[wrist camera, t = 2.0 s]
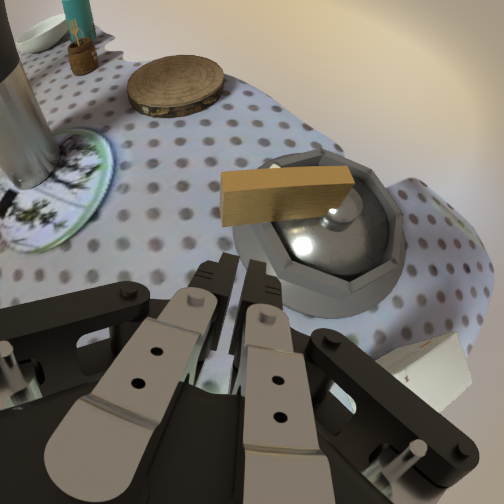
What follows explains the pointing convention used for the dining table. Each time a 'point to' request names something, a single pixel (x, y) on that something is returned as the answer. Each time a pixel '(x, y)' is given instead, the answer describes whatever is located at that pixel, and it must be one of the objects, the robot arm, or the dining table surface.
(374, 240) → the dial
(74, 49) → the utensil holder
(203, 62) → the wooden log slice
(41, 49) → the cereal bowl
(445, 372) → the small box
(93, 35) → the beverage bottle
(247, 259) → the dial housing
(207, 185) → the dining table surface
